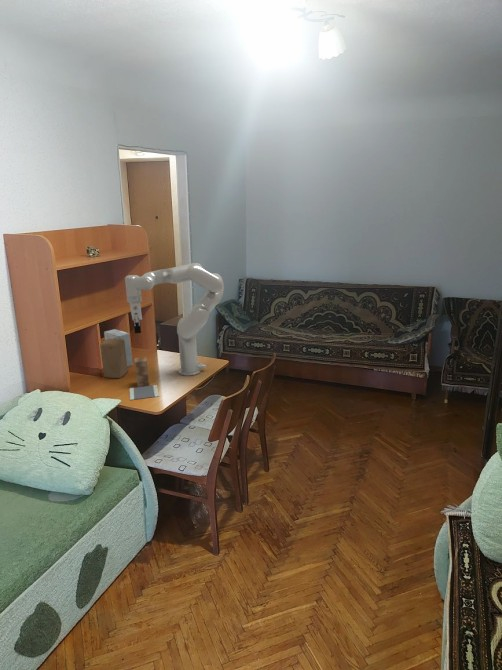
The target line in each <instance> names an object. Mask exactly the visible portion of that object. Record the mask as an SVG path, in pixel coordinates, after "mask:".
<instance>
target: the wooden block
mask: <svg viewBox="0 0 502 670" xmlns="http://www.w3.org/2000/svg"><path fill="white" fill-rule="evenodd" d="M99 346H100V347H99V348H100V353H101V354H100V355H101V361H102V371H103V377H104V378H111V379H121V378H123V376H125V375H126V374H127V373H128V372H129V369H128V367H127V360H126V351H125V342H124V339H107V340H106V341H105V340H103V341H102V342H101V343H100V345H99Z"/></svg>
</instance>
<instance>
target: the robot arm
mask: <svg viewBox="0 0 502 670" xmlns="http://www.w3.org/2000/svg"><path fill="white" fill-rule="evenodd" d="M124 281H125V292H126V293H125V294H126V301H127V303H129V308H130V315H131V319H132V322H133V328H134V334H140V333H142V331H141V323H140V321H143V315H142V305H141V302H143V299H142V290H143V291H144V290H145V291H149V290H152V289H153V288H154V286H157V285H161V284H167V283H168V284H174V285H176V284H181V283H184V282H185V283H186V282H189V281H192V282H193V283H194V284H196V285H198V286H200V287H202V289H203V288H204V289H205V290H207V291H206V292H205V294H204V295H203V296H202V297H201V298H200V299H199V300H198V302H196V303H195V305H193V307H192V308H191V311H190V313H189V314H188V315H187V316H183V317H181V318H180V319H179V321H178V322H177V325H176V326H177V327H176V333H177V335H178V349H179V351H178V352H179V360H180V361H179V362H180V363H179V365H180V368H179V369H178V370H177V371H178V372H177V373H178V374H179V375H181V376H187V377H188V376H189V377H190V376H195V375H198V374H199V373H201V371H202V369H204V368H205V369H206V368H207V365H206V363H199V362H198V350H197V333H198V332H199V331H200V330H201V329H202V328H203V327H204V326H205V325H206V323H208V320H209V317H210V314H211V312H212V311H213V310H214V309H215V308H216V306H217V305H218V304H219V303H220V301H221V300H222V298H223V295H224V291H225V284H224V279H223V277H222V276H221V275H220V274H219V273H217V272H216V273H215V272H213V273H211V272H209V271H208V270H206V269H205V268H204V266H203V265H202V264H200V263H198V262H191V263H189V264H184V265H178V266H175V267H170V268H169V267H168V268H163V269H157V270H152V271H147V272H145V273H144V274H143V275H141V276H139V275H137V274H129V275H126V276H125V278H124ZM201 368H202V369H201Z"/></svg>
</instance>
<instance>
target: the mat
mask: <svg viewBox="0 0 502 670" xmlns="http://www.w3.org/2000/svg"><path fill="white" fill-rule="evenodd" d="M158 397H160V395H159V387H158V385H157V384H153V385H149V386H144V387H137V386H136V387H130V388H129V401H133V400H136V401H137V400H142V399H150V398H158Z"/></svg>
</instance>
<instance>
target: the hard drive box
mask: <svg viewBox="0 0 502 670" xmlns="http://www.w3.org/2000/svg"><path fill="white" fill-rule="evenodd" d="M103 335H104V341H105V340H107V339H124V342H125V351H126V360H127V368H130V367H131V366H133V357H132V356H133V355H132V348H131V340H130V339H131V338H130V333H128V332H126V331H122V330H119V329H115V328H114V329H110V330H106V331H104V332H103Z"/></svg>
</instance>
